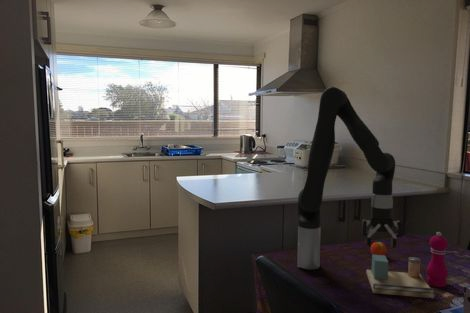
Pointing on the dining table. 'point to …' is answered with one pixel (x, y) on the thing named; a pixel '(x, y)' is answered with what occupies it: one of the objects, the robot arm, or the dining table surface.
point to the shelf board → (401, 285)
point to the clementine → (378, 248)
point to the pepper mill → (437, 262)
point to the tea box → (379, 267)
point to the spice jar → (414, 267)
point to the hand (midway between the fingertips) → (381, 246)
